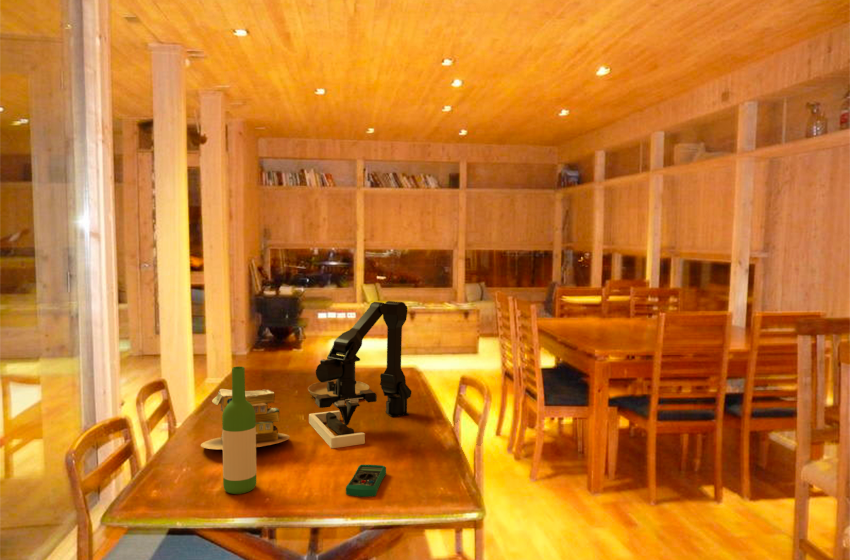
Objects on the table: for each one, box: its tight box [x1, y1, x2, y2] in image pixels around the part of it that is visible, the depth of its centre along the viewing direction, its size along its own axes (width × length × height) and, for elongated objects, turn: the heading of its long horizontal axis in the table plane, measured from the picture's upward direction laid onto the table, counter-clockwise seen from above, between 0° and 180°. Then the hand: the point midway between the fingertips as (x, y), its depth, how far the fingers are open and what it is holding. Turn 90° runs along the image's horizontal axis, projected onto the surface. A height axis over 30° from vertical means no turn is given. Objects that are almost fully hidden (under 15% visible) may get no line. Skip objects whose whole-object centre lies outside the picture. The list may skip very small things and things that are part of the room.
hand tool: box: [325, 411, 355, 436], centre depth 190 cm, size 19×4×5 cm, turn 27°
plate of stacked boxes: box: [200, 388, 290, 450], centre depth 175 cm, size 25×25×17 cm
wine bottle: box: [221, 366, 257, 495], centre depth 145 cm, size 8×8×30 cm
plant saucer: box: [307, 380, 370, 399], centre depth 235 cm, size 24×24×3 cm
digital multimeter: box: [345, 464, 387, 498], centre depth 149 cm, size 7×15×3 cm, turn 173°
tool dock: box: [308, 409, 366, 449], centre depth 189 cm, size 10×27×3 cm, turn 25°
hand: (346, 424), depth 190 cm, fingers closed
